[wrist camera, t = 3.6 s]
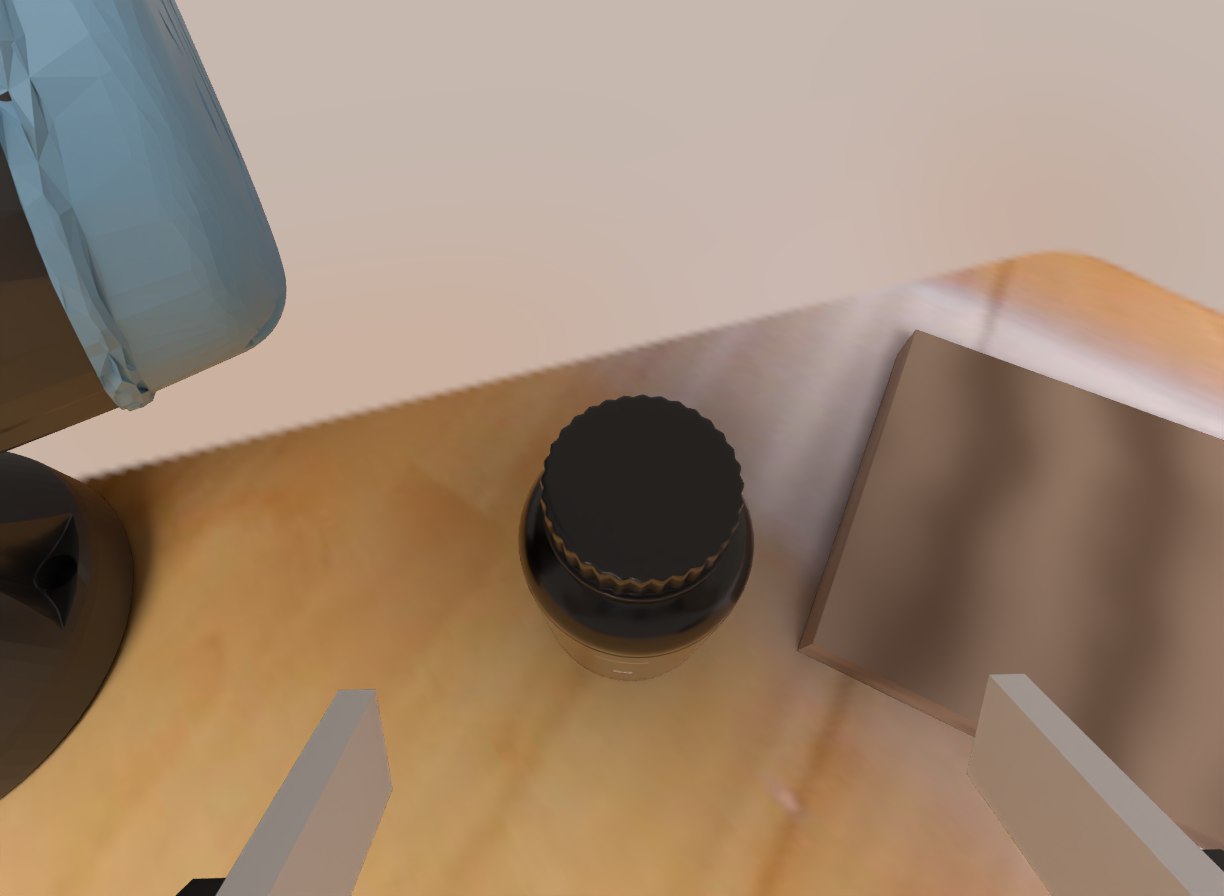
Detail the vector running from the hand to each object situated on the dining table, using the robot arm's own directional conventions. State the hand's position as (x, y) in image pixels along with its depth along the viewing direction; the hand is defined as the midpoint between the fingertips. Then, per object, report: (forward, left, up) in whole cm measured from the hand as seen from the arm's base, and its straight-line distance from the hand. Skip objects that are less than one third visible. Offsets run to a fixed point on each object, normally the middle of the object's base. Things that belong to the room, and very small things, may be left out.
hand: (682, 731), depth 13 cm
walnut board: (+14, +13, -10) cm, 22 cm away
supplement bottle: (-3, +4, -11) cm, 12 cm away
